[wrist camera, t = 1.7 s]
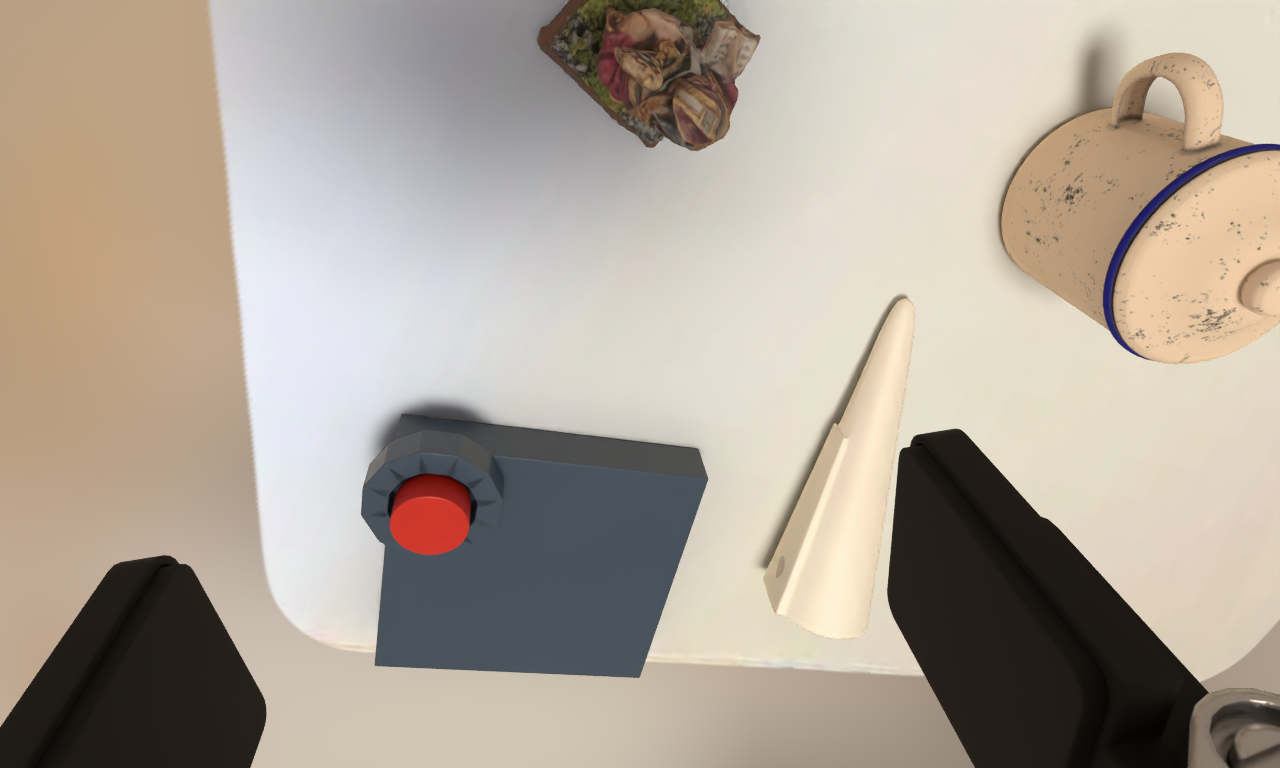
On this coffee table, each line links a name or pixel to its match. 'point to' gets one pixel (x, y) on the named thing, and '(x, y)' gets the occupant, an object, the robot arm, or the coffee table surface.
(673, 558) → the button box
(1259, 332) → the teacup with lid
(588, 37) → the figurine
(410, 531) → the button
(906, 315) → the long cone
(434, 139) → the coffee table surface
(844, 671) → the coffee table surface
